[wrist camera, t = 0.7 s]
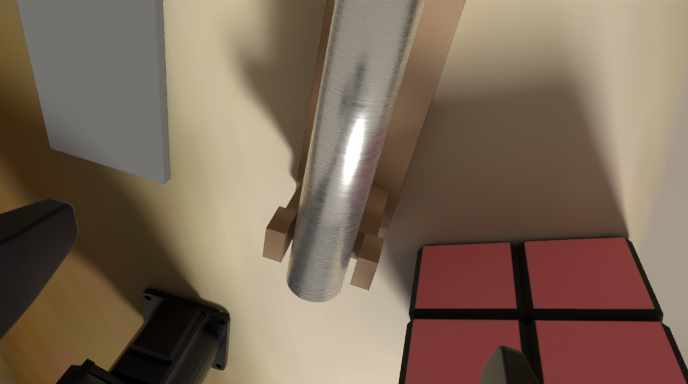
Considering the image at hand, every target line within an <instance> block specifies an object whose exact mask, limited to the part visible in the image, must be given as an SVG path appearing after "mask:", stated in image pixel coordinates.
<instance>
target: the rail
mask: <svg viewBox="0 0 688 384" xmlns="http://www.w3.org/2000/svg"><path fill="white" fill-rule="evenodd" d="M424 3H425V0H335V5H334V11H333V16H332V22H331V28H330V33H329V39H328V45H327V50H326V56H325V62H324V67H323V73H322V79H321V84H320V90H319V96H318V101H317V107H316V113H315V118H314V124H313V130H312V135H311V141H310V147H309V152H308V158H307V163H306V169H305V175H304V180H303V186H302V192H301V197H300V203H299V209H298V214H297V220H296V226H295V231H294V237H293V243H292V248H291V254H290V260H289V265H288V271H287V284H288V286H289V288H290V289H291V291H292V292H293V293H294V294H295V295H297V296H298V297H300V298H302V299H304V300H307V301H311V302H324V301H328V300H331V299H332V298H334V297H335V296H337V295H338V293H339V292H340V290H341V288H342V285H343V281H344V278H345V274H346V271H347V267H348V264H349V261H350V257H351V254H352V250H353V247H354V243H355V240H356V236H357V233H358V230H359V226H360V223H361V219H362V216H363V212H364V209H365V206H366V202H367V199H368V195H369V192H370V188H371V185H372V182H373V178H374V175H375V171H376V168H377V164H378V161H379V157H380V154H381V151H382V147H383V144H384V140H385V137H386V133H387V130H388V127H389V123H390V120H391V116H392V113H393V109H394V106H395V103H396V99H397V96H398V92H399V89H400V85H401V82H402V78H403V75H404V72H405V68H406V65H407V61H408V58H409V54H410V51H411V48H412V44H413V41H414V37H415V34H416V30H417V27H418V24H419V20H420V17H421V13H422V10H423V6H424Z"/></svg>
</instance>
